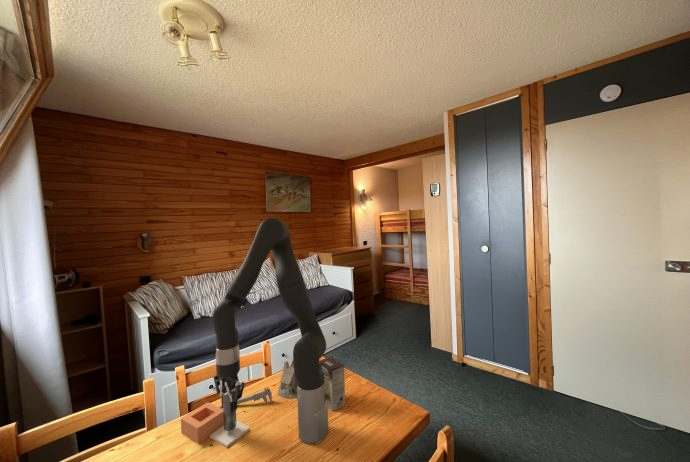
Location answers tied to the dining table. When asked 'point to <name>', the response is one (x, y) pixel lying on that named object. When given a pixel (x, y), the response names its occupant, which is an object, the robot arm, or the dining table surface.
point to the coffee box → (333, 382)
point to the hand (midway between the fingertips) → (229, 408)
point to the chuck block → (202, 422)
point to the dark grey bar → (228, 413)
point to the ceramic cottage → (288, 382)
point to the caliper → (256, 396)
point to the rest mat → (229, 434)
